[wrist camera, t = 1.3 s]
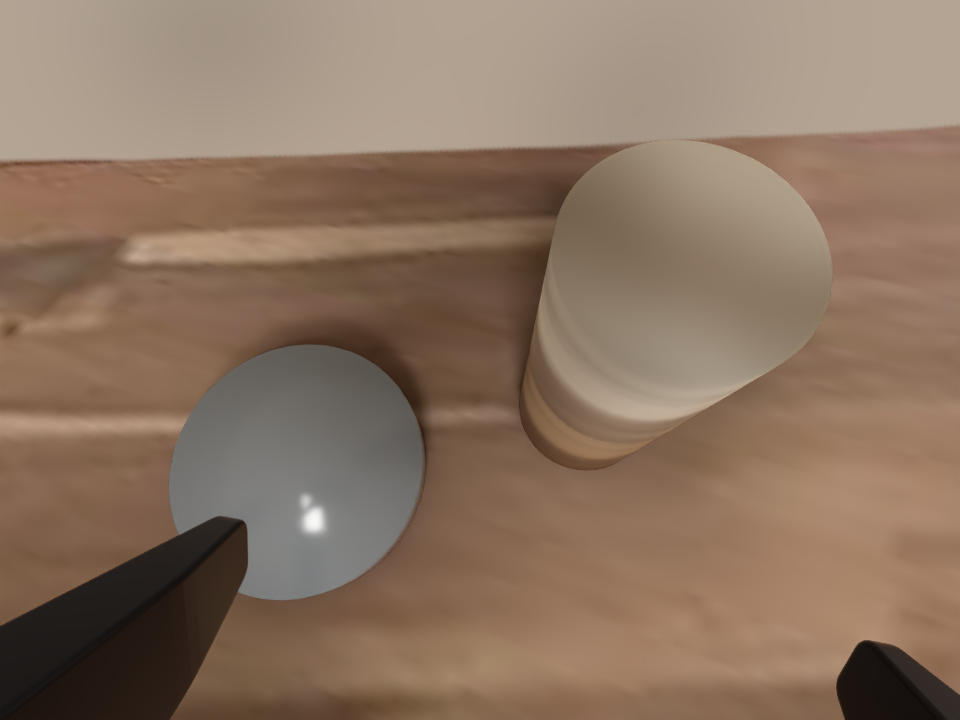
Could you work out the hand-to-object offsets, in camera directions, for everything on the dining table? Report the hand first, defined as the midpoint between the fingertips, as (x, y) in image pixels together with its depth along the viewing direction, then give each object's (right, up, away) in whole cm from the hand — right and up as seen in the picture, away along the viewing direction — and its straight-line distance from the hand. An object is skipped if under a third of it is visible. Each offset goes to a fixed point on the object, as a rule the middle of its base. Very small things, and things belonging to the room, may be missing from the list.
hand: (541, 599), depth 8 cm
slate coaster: (-8, -1, +14) cm, 17 cm away
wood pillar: (+4, +1, +15) cm, 16 cm away
